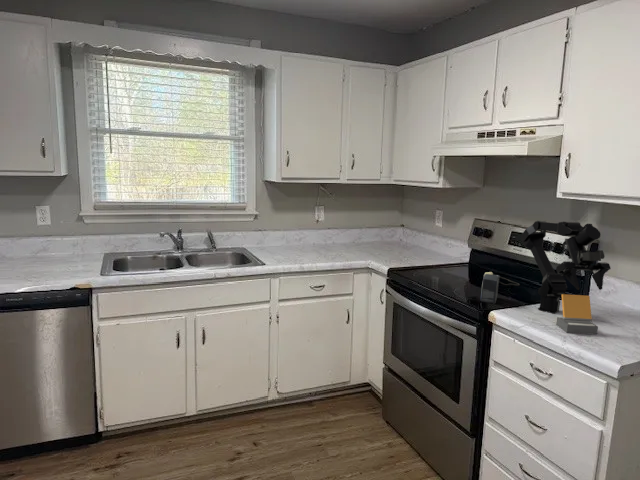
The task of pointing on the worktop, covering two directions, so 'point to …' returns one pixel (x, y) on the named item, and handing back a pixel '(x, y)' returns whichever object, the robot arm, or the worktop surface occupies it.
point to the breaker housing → (577, 326)
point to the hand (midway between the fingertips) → (589, 289)
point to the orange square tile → (576, 308)
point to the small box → (490, 288)
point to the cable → (504, 278)
